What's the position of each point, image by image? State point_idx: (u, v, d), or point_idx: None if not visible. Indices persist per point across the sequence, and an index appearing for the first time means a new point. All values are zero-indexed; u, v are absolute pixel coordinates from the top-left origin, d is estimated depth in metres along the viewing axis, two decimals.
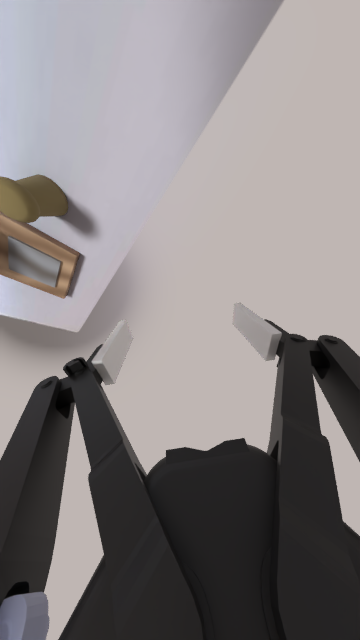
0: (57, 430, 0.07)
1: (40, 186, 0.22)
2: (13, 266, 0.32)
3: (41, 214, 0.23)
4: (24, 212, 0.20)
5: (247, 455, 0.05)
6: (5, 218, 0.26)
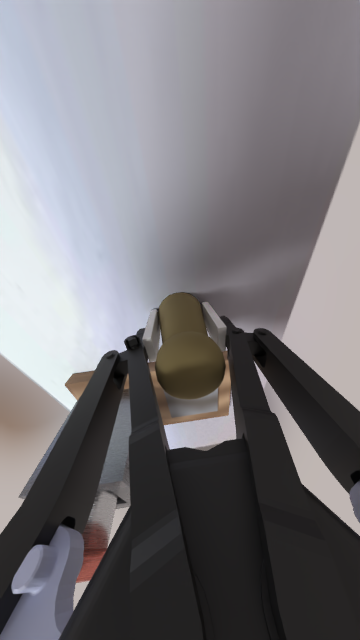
0: (111, 398, 0.08)
1: (185, 310, 0.13)
2: (174, 413, 0.25)
3: None
4: (219, 378, 0.09)
5: (247, 455, 0.05)
6: (155, 372, 0.20)
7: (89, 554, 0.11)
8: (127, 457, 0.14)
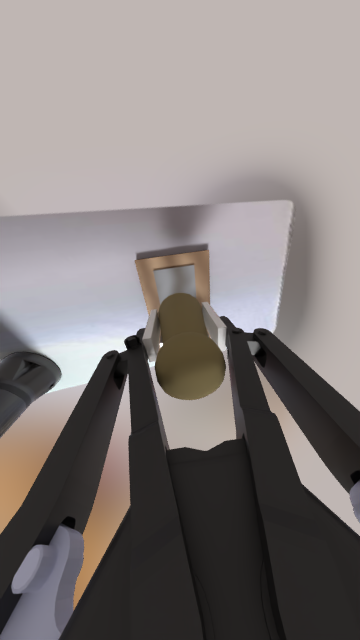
0: (111, 398, 0.08)
1: (185, 310, 0.13)
2: None
3: None
4: (219, 379, 0.09)
5: (247, 455, 0.05)
6: (148, 311, 0.34)
7: None
8: (160, 338, 0.28)
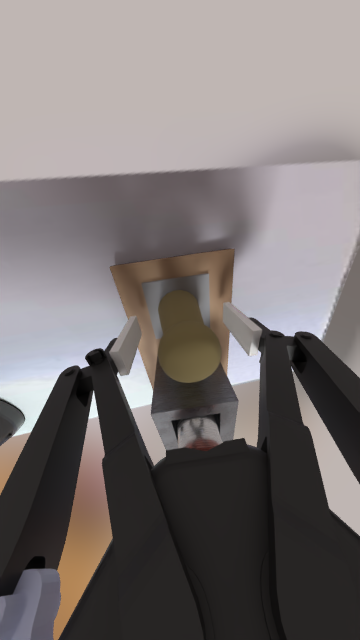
0: (76, 417, 0.08)
1: (183, 304, 0.14)
2: None
3: None
4: (216, 360, 0.10)
5: (247, 455, 0.05)
6: None
7: None
8: (153, 399, 0.16)
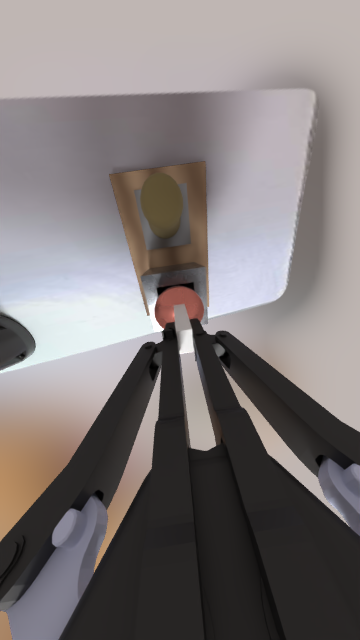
0: (145, 388, 0.09)
1: None
2: (184, 240, 0.26)
3: None
4: (177, 198, 0.15)
5: None
6: (132, 255, 0.27)
7: None
8: (143, 274, 0.21)
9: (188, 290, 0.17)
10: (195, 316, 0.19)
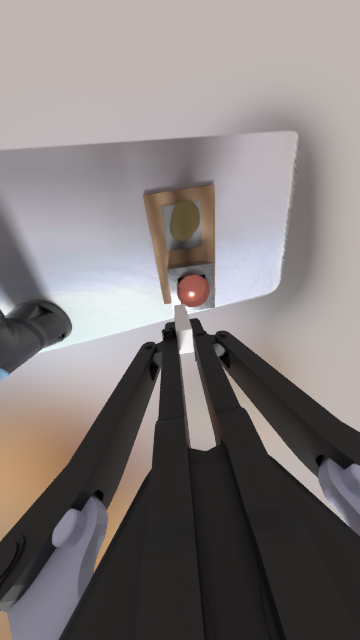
0: (145, 388, 0.09)
1: None
2: (196, 243, 0.34)
3: None
4: (196, 216, 0.22)
5: None
6: (155, 255, 0.35)
7: (180, 281, 0.28)
8: (167, 268, 0.29)
9: (200, 276, 0.27)
10: (203, 294, 0.29)
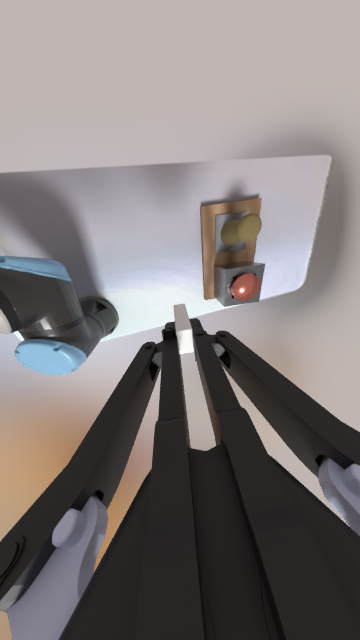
0: (145, 388, 0.09)
1: (240, 219, 0.32)
2: (241, 246, 0.39)
3: None
4: (260, 226, 0.28)
5: None
6: (204, 256, 0.40)
7: (236, 279, 0.33)
8: (223, 268, 0.34)
9: (254, 275, 0.32)
10: (254, 290, 0.34)
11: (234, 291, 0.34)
